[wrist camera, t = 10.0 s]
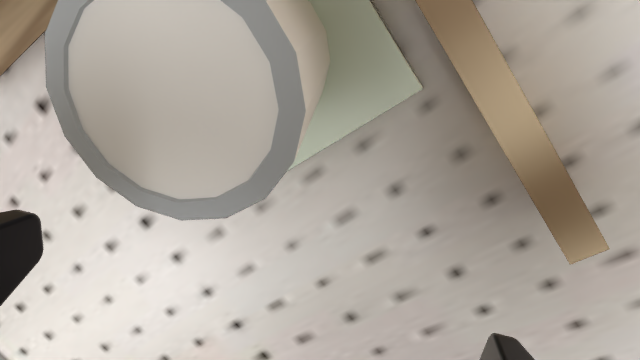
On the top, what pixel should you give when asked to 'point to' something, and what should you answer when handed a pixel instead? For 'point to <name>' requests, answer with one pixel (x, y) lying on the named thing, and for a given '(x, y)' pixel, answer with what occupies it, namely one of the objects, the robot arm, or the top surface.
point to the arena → (480, 80)
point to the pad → (355, 74)
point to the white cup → (186, 96)
